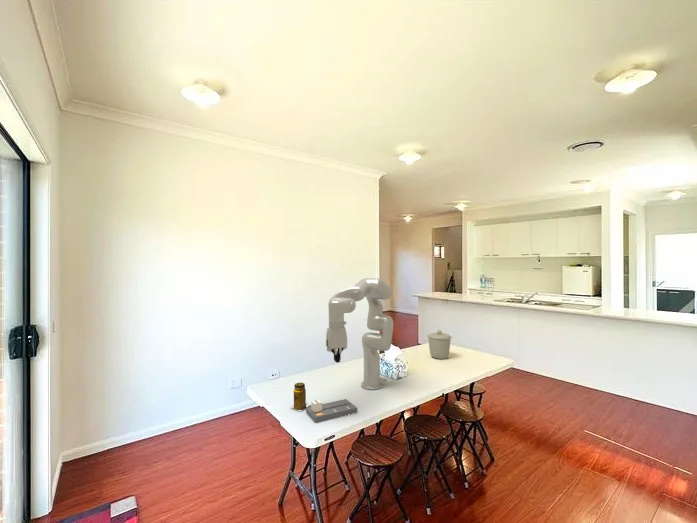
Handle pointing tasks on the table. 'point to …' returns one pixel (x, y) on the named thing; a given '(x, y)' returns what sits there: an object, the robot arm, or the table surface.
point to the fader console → (332, 410)
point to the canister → (439, 344)
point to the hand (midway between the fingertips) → (337, 361)
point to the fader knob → (316, 406)
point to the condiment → (300, 396)
